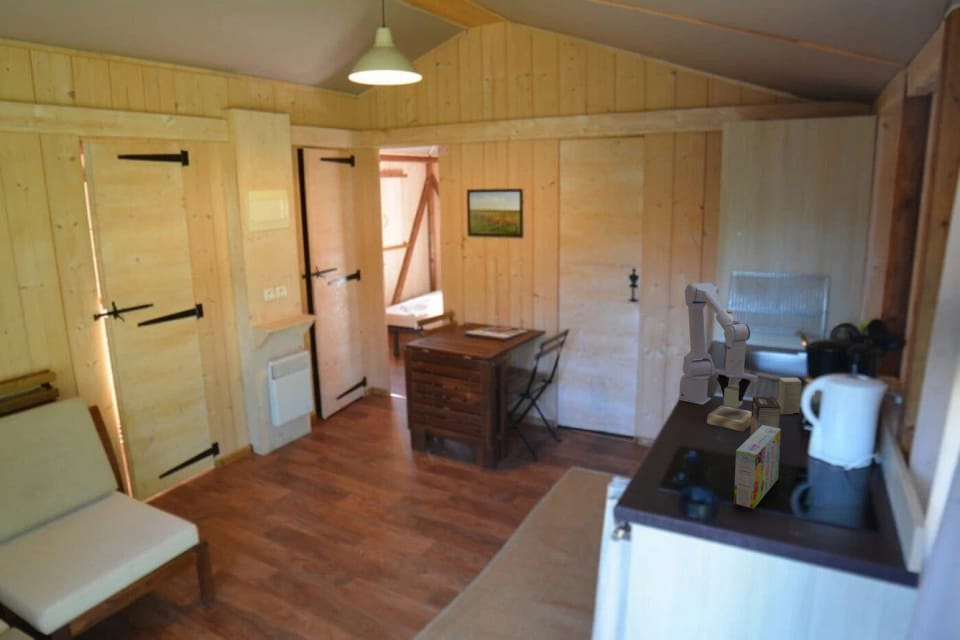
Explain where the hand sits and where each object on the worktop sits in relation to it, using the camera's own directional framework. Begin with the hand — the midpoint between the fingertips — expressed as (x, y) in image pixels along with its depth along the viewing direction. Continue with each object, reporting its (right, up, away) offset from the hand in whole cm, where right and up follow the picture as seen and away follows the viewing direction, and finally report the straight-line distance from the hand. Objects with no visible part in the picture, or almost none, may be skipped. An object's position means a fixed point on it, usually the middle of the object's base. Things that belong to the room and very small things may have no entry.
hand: (732, 398), depth 221 cm
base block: (0, -8, +2) cm, 8 cm away
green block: (0, -2, +1) cm, 2 cm away
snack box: (-12, -19, -46) cm, 51 cm away
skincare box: (+23, -6, +10) cm, 26 cm away
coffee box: (+1, -14, -22) cm, 26 cm away
